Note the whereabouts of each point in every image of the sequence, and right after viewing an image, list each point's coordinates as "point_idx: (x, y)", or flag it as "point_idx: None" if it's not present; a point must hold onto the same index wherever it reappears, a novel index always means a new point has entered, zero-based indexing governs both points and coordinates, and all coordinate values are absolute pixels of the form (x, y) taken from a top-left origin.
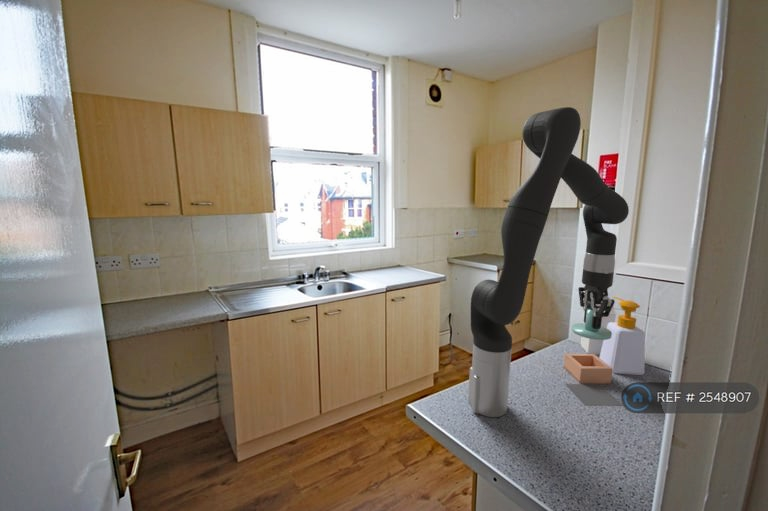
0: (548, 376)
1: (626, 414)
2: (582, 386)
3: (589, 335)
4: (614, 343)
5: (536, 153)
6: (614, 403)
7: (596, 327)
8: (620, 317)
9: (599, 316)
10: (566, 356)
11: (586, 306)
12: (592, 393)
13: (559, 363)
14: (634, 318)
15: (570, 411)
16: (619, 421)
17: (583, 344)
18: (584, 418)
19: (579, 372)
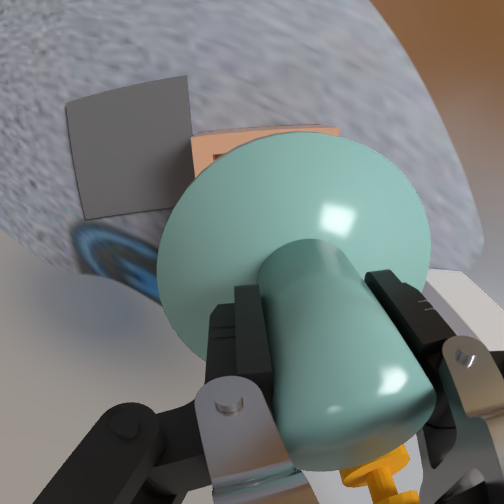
0: (249, 40)
1: (56, 208)
2: (174, 133)
3: (172, 212)
4: None
5: None
6: (89, 197)
7: (219, 314)
8: (386, 459)
9: (107, 412)
10: (322, 127)
11: (460, 398)
12: (132, 151)
13: (358, 129)
14: (361, 484)
15: (46, 58)
16: (26, 175)
17: (451, 275)
18: (23, 89)
19: (203, 134)
